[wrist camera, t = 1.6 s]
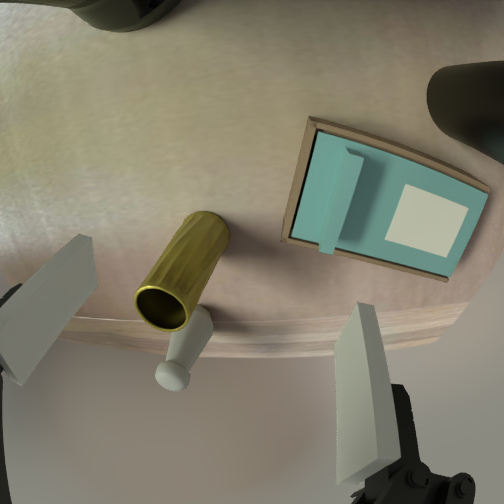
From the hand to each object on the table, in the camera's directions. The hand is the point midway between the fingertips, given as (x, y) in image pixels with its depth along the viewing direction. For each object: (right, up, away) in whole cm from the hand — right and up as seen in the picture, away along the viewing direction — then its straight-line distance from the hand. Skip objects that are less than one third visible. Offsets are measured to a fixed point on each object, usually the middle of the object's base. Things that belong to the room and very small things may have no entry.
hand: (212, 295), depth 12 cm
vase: (-4, +4, +24) cm, 25 cm away
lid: (+16, +6, +14) cm, 22 cm away
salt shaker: (-6, -7, +32) cm, 33 cm away
